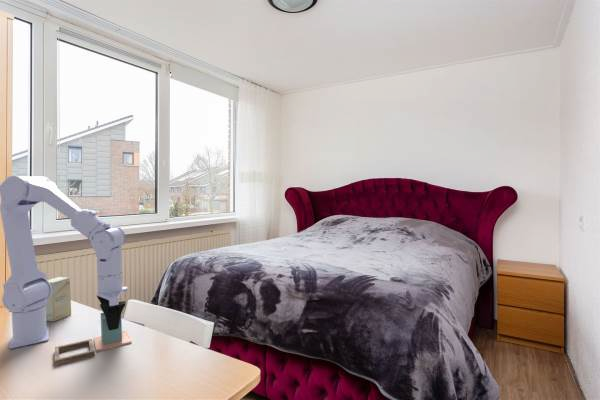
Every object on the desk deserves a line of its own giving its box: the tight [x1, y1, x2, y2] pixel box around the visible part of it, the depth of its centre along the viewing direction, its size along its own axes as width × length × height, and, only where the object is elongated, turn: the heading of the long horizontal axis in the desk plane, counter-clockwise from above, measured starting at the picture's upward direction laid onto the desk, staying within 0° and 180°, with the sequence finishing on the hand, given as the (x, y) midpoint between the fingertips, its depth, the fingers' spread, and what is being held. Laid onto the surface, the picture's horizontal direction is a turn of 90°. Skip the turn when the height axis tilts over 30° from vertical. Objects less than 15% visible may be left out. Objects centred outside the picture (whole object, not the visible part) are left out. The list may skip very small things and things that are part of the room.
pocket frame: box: [54, 338, 96, 367], centre depth 85 cm, size 8×8×1 cm
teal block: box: [100, 312, 123, 345], centre depth 92 cm, size 4×4×7 cm
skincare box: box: [45, 276, 72, 322], centre depth 108 cm, size 6×4×12 cm
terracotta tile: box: [93, 330, 132, 353], centre depth 92 cm, size 8×8×1 cm
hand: (111, 324), depth 92 cm, fingers open, 7 cm apart
